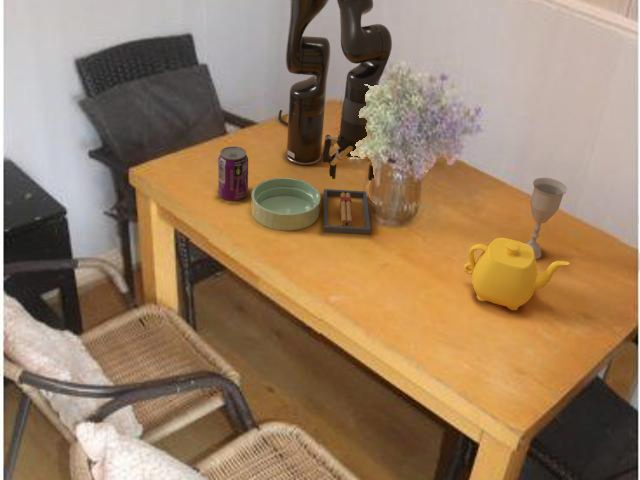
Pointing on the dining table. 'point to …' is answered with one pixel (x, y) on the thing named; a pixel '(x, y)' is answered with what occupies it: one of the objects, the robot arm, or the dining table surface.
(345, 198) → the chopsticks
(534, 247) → the chalice
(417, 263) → the dining table surface
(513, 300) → the teapot
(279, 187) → the bowl
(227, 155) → the beverage can
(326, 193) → the tray
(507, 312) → the dining table surface
